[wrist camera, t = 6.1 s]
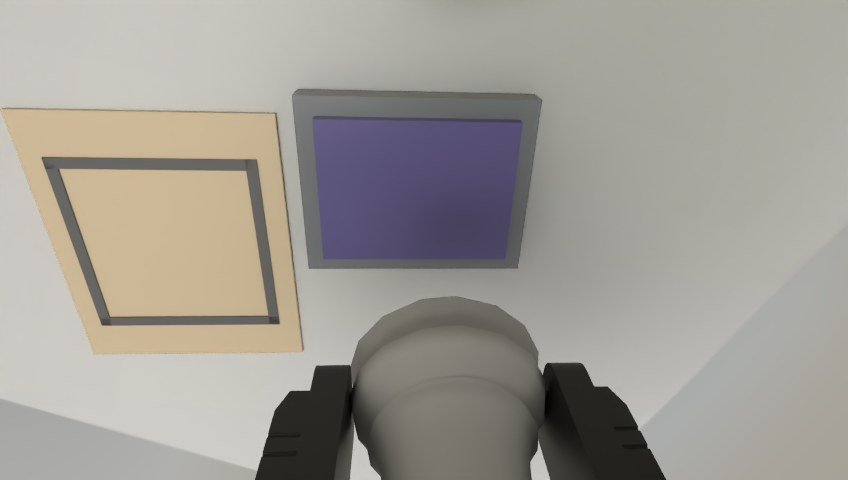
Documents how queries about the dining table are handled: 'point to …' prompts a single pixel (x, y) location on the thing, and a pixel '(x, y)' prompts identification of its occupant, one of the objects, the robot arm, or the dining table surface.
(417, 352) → the rook chess piece
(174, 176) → the marked card
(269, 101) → the dining table surface
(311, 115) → the ink pad
